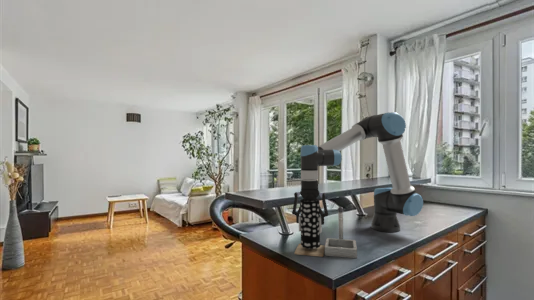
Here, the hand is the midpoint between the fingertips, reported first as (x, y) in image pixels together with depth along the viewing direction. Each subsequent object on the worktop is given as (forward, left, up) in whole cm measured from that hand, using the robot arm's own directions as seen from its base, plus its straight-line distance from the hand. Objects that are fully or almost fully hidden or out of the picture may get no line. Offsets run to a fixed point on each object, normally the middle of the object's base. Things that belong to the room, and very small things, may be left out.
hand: (310, 231), depth 122 cm
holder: (-13, -4, -9) cm, 16 cm away
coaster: (0, 0, -9) cm, 9 cm away
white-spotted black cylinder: (0, 0, -7) cm, 7 cm away
